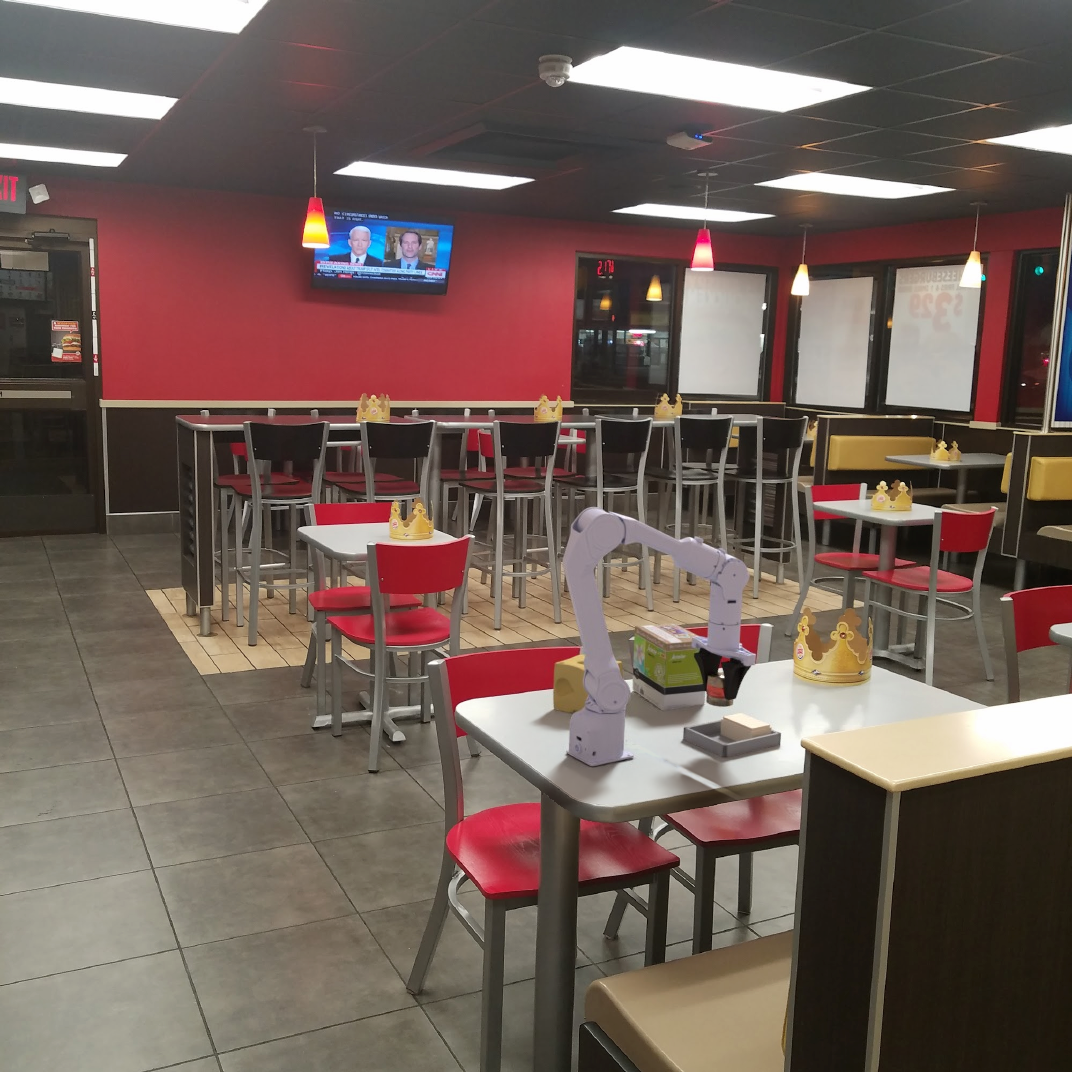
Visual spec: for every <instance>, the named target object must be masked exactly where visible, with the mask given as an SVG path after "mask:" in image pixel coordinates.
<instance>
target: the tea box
mask: <svg viewBox="0 0 1072 1072" xmlns="http://www.w3.org/2000/svg"><path fill="white" fill-rule="evenodd" d="M697 636H699V635H697V634H696V633H693V632H691V631H690V630H688V629H685V627H682V626H680V625H678V624H676V623H675V622H674V623H672V622H671V623H663V624H662V623H661V624H649V625H635V626H634V637H633V638H634V639H633V661H632V662H633V665H632V667H633V668H632V691H633V692H636V693H637V694H638V695H641V697H642V698H645V699H646V700H647V701H648V702H650V703H651V704H653V706H655V707H657V708H658V709H660V711H661V712H666V711H672V710H677V709H681V708H682V709H683V708H687V707H693V706H703V705H705V701H706V691H705V690H704V685H703V680H702V676H701V672H700V669H699V666H698V664H697V662H696V660H695V658H694V653H698V652H699V651H700V649H699V648H693V647H692V637H697Z"/></svg>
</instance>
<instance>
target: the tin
mask: <svg viewBox="0 0 1072 1072" xmlns="http://www.w3.org/2000/svg"><path fill="white" fill-rule="evenodd" d="M705 695H706V697H705V701H706V704H708V705H710V706H713V707H719V708H723V707H731V706H733V705H734V699H732V700H726V699H725V680H724V673H723V671H722V672H720V671H718V672H713V673H709V674H708V681H707V692H705Z"/></svg>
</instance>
